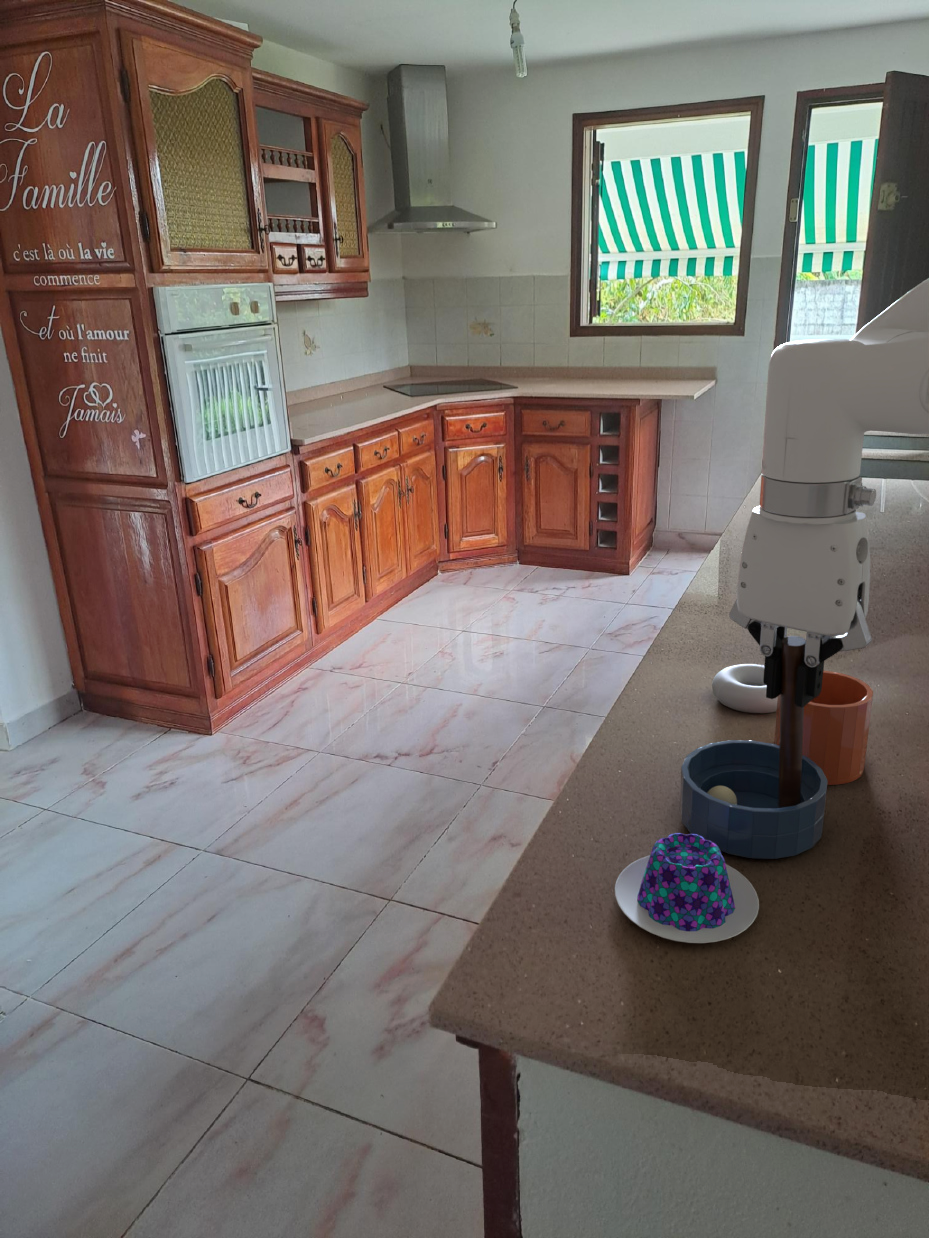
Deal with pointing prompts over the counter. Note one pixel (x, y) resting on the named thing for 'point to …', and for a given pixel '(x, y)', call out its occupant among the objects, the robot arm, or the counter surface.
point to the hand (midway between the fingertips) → (791, 696)
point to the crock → (836, 727)
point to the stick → (790, 724)
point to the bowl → (750, 800)
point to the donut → (743, 689)
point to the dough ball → (723, 794)
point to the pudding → (687, 892)
